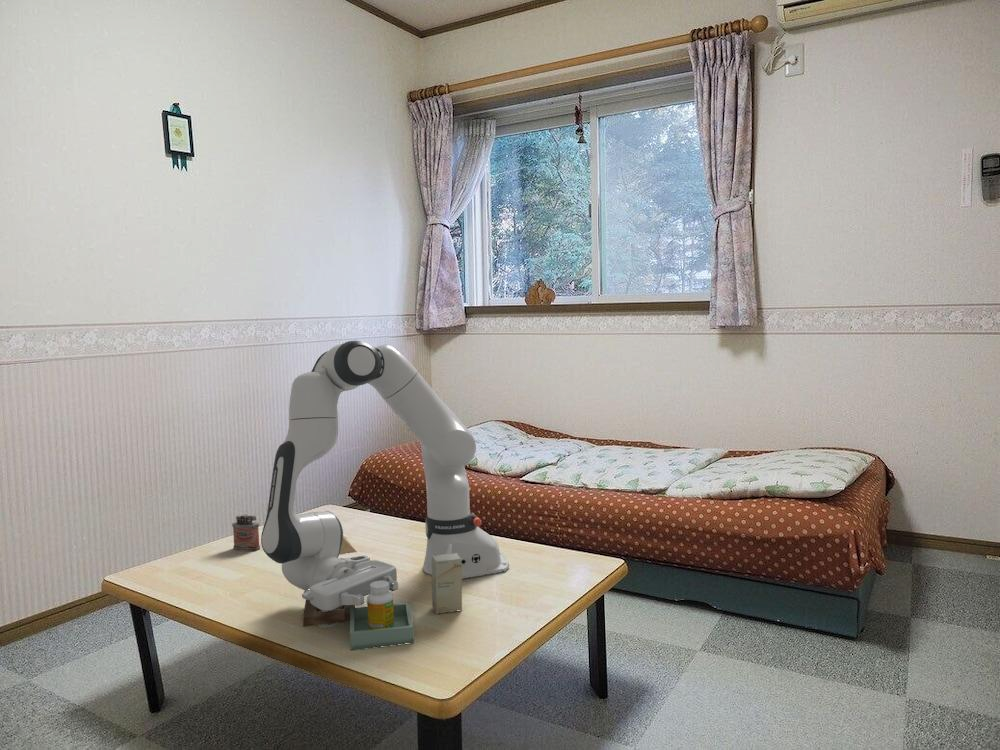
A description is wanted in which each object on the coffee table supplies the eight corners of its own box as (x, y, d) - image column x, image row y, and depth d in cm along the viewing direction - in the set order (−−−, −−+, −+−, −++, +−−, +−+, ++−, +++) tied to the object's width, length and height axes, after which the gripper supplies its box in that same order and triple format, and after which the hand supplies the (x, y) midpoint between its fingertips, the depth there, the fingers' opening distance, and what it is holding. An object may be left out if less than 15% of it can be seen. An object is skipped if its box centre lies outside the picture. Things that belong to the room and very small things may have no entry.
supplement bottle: (388, 635, 149) (387, 589, 148) (364, 633, 150) (362, 587, 149) (397, 624, 154) (396, 579, 153) (373, 622, 155) (372, 578, 154)
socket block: (355, 601, 169) (354, 593, 169) (355, 621, 158) (354, 612, 158) (306, 606, 167) (306, 597, 167) (303, 626, 156) (302, 617, 156)
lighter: (231, 550, 208) (229, 515, 207) (238, 546, 211) (236, 512, 210) (256, 551, 206) (254, 517, 205) (262, 547, 209) (260, 514, 208)
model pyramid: (285, 546, 212) (284, 512, 211) (344, 537, 219) (343, 504, 218) (295, 563, 197) (293, 527, 196) (358, 553, 204) (356, 518, 203)
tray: (409, 617, 159) (408, 602, 159) (414, 643, 147) (413, 626, 147) (351, 623, 157) (350, 608, 157) (350, 650, 145) (350, 633, 144)
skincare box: (435, 614, 161) (434, 561, 160) (431, 607, 165) (430, 555, 164) (463, 611, 162) (461, 558, 161) (458, 603, 167) (457, 552, 166)
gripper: (296, 580, 152) (339, 595, 143) (370, 553, 167) (413, 565, 159) (297, 609, 152) (340, 626, 144) (371, 579, 168) (414, 593, 159)
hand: (379, 593), depth 151 cm, fingers open, 8 cm apart
